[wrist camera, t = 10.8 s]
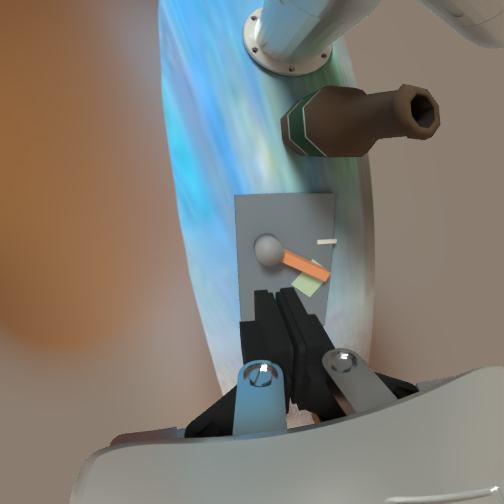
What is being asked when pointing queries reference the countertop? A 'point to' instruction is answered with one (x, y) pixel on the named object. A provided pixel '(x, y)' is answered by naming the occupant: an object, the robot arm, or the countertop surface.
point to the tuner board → (285, 246)
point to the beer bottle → (357, 120)
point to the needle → (285, 257)
